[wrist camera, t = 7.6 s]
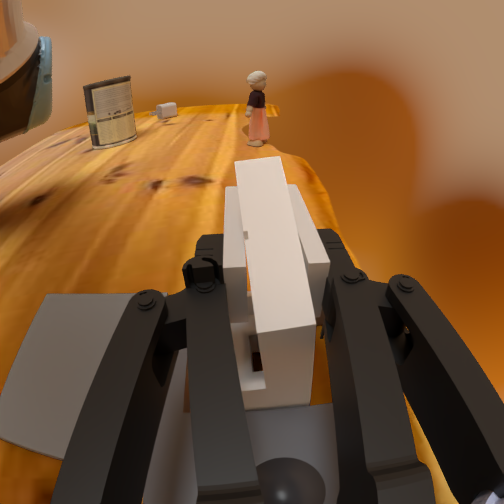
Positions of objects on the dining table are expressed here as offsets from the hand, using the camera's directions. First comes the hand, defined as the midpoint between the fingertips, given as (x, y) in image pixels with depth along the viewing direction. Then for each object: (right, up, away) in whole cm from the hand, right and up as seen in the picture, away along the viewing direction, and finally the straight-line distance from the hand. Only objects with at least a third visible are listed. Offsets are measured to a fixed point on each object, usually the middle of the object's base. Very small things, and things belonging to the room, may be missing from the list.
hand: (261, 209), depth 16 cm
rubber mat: (-11, -9, -1) cm, 14 cm away
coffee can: (-30, +21, +42) cm, 56 cm away
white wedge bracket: (0, -9, -1) cm, 9 cm away
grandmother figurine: (+1, +16, +35) cm, 38 cm away
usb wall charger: (-25, +34, +61) cm, 74 cm away
